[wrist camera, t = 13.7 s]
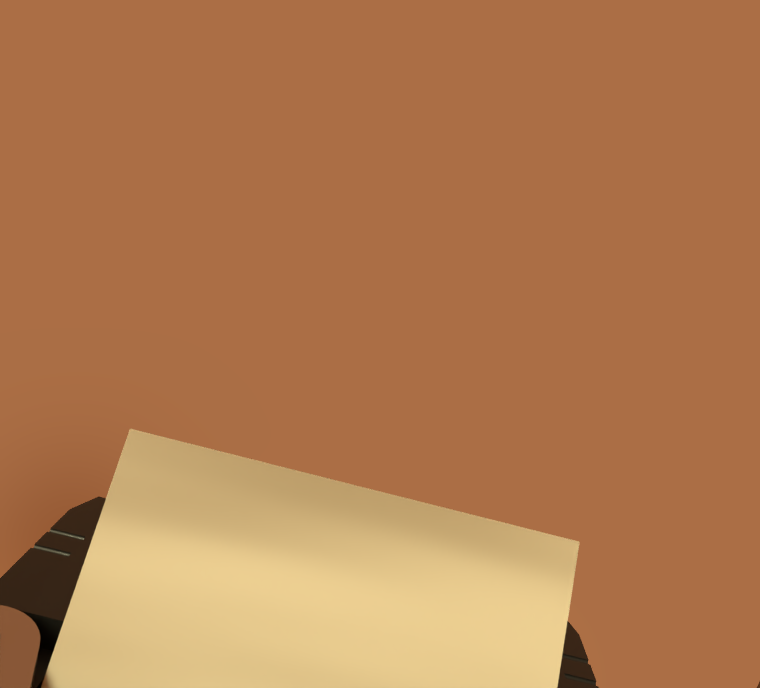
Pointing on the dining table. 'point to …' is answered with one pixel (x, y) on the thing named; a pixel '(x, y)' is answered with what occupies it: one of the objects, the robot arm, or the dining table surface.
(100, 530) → the bar
